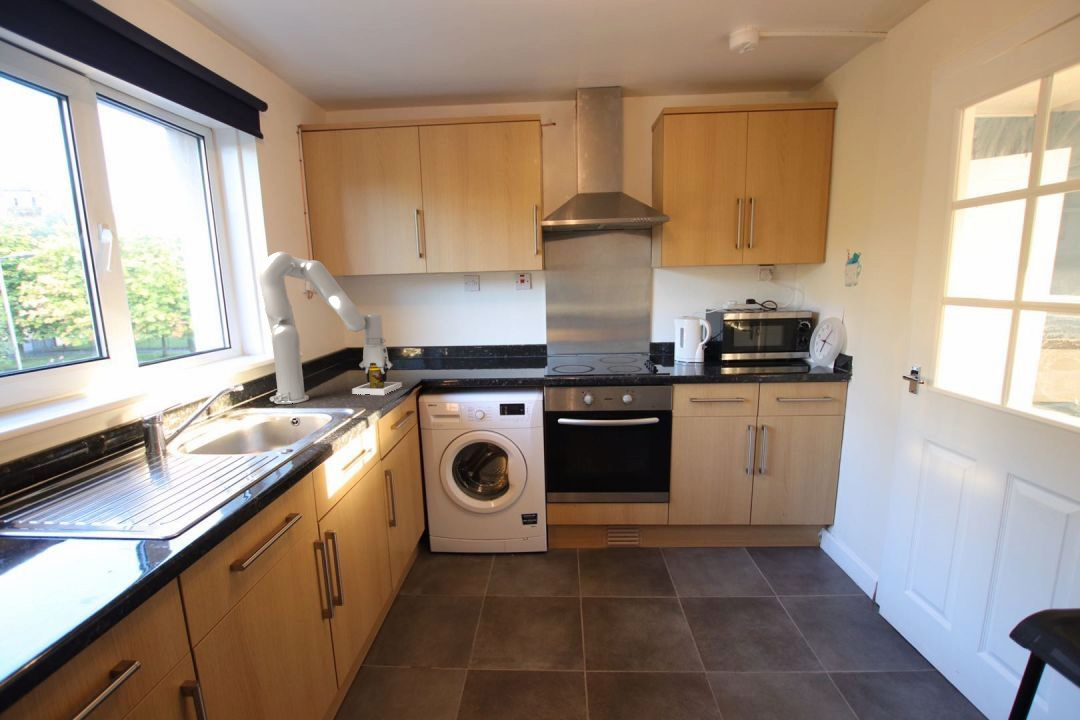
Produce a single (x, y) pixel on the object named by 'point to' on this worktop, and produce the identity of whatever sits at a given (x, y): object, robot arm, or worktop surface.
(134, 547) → the worktop surface
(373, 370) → the condiment
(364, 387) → the housing
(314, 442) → the worktop surface
